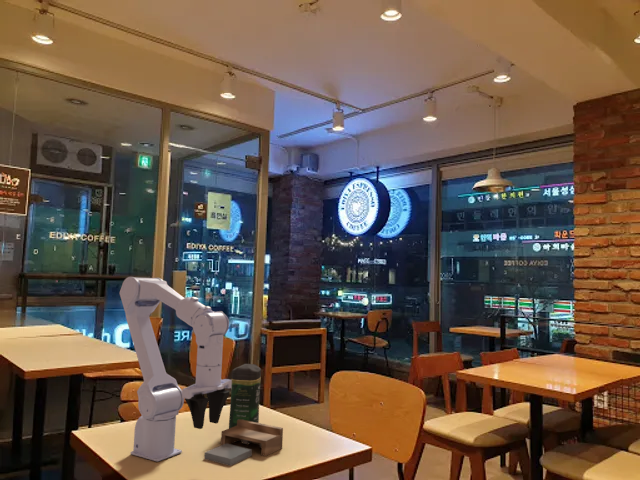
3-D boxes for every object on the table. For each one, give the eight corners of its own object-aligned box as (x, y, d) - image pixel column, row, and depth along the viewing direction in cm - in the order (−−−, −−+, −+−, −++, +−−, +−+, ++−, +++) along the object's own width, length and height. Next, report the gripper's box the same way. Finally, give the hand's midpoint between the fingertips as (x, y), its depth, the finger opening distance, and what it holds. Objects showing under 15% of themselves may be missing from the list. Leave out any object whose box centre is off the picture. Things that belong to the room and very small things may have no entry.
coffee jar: (253, 437, 135) (256, 368, 137) (225, 435, 136) (228, 366, 138) (261, 427, 145) (264, 362, 147) (235, 425, 146) (238, 361, 147)
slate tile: (204, 460, 118) (204, 452, 118) (226, 451, 125) (226, 443, 125) (230, 468, 114) (231, 459, 114) (251, 457, 121) (251, 449, 121)
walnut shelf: (220, 445, 127) (221, 425, 128) (239, 438, 134) (239, 419, 134) (265, 456, 121) (266, 435, 121) (282, 447, 127) (282, 427, 128)
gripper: (200, 370, 106) (197, 436, 104) (242, 362, 118) (240, 420, 117) (176, 367, 109) (172, 430, 108) (219, 359, 122) (217, 416, 120)
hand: (206, 425), depth 113 cm, fingers open, 5 cm apart
